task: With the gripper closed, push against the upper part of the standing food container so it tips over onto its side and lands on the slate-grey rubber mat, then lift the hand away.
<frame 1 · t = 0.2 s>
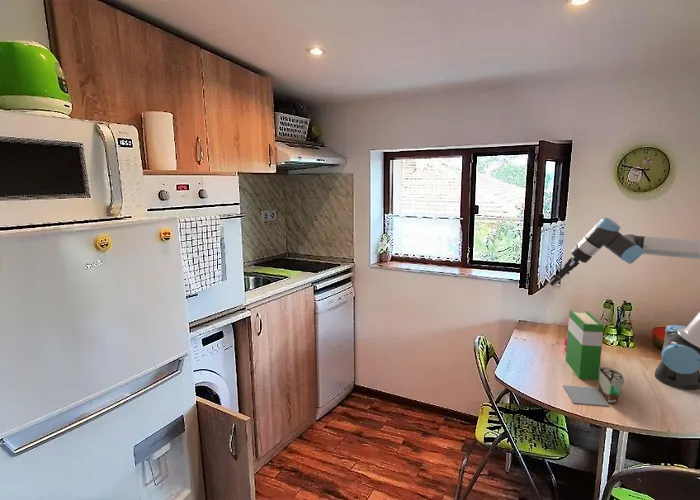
hand: (550, 286, 182), 36 cm above the table, tool tilted 35°, fingers open, 13 cm apart
pepper mill: (572, 352, 197), on the table
hardback book: (581, 370, 179), on the table
food container: (611, 398, 156), on the table
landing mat: (584, 395, 158), on the table
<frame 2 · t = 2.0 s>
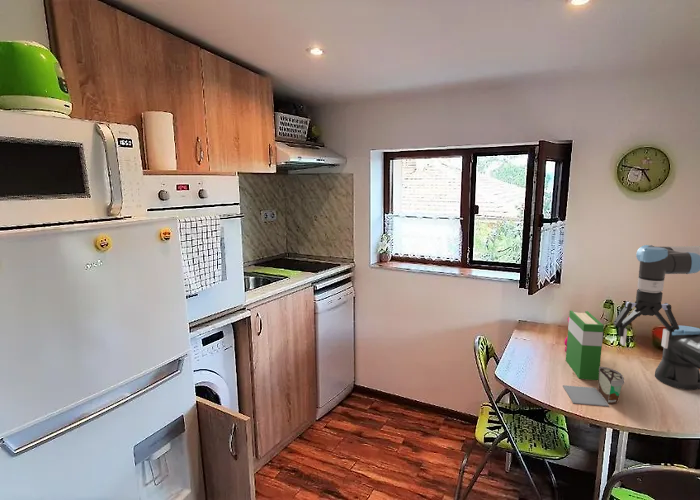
hand: (643, 345, 151), 22 cm above the table, tool pointing down, fingers open, 13 cm apart
nothing on the table moved.
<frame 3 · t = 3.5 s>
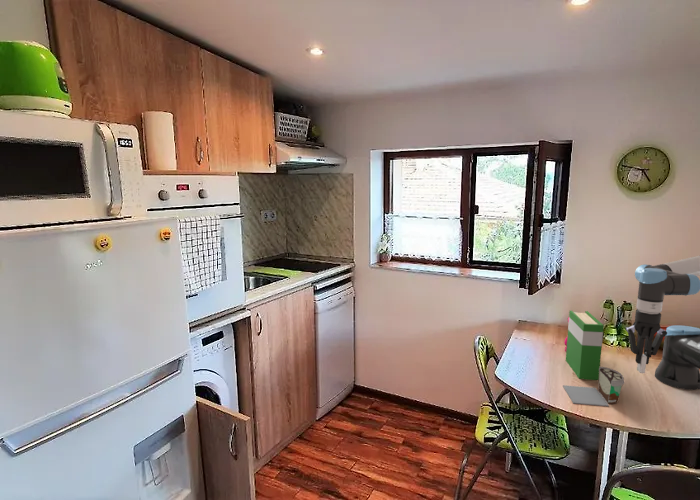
hand: (640, 371, 152), 12 cm above the table, tool pointing down, fingers closed
nothing on the table moved.
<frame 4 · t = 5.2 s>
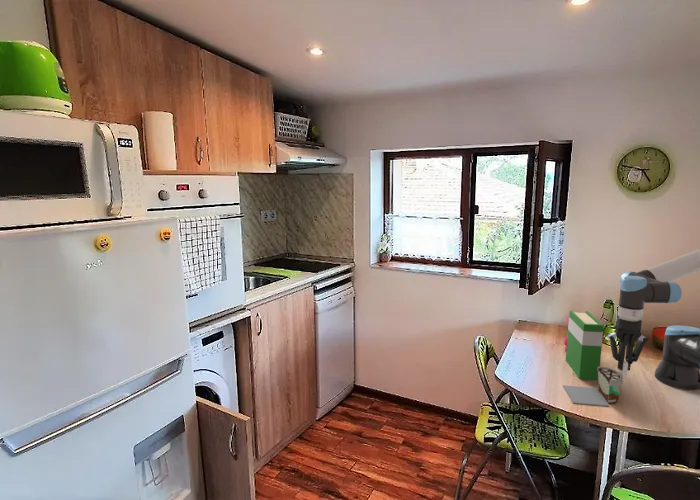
hand: (622, 377, 154), 9 cm above the table, tool pointing down, fingers closed
food container: (611, 398, 156), on the table, touching gripper
everything else where it was.
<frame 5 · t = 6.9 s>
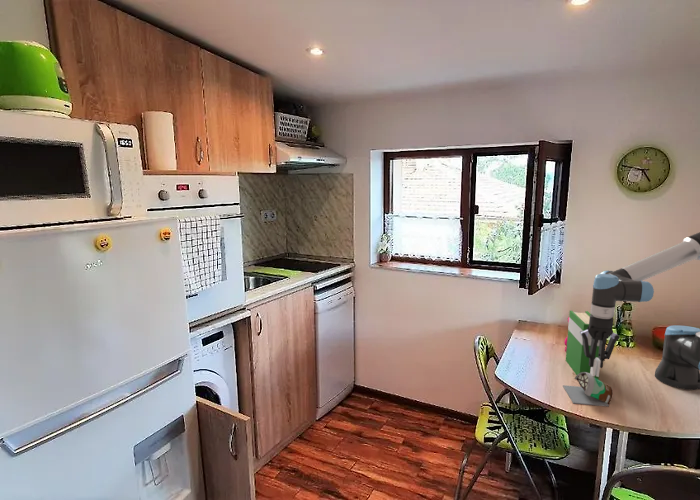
hand: (594, 374, 156), 9 cm above the table, tool pointing down, fingers closed
food container: (608, 391, 156), point 3 cm above the table, touching gripper, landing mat
everything else where it was.
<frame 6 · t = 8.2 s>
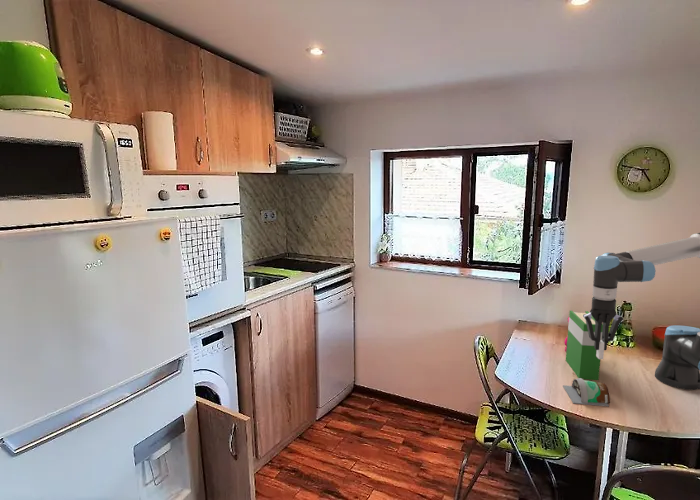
hand: (599, 357, 155), 16 cm above the table, tool pointing down, fingers closed
food container: (606, 389, 156), point 3 cm above the table, touching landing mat
everything else where it was.
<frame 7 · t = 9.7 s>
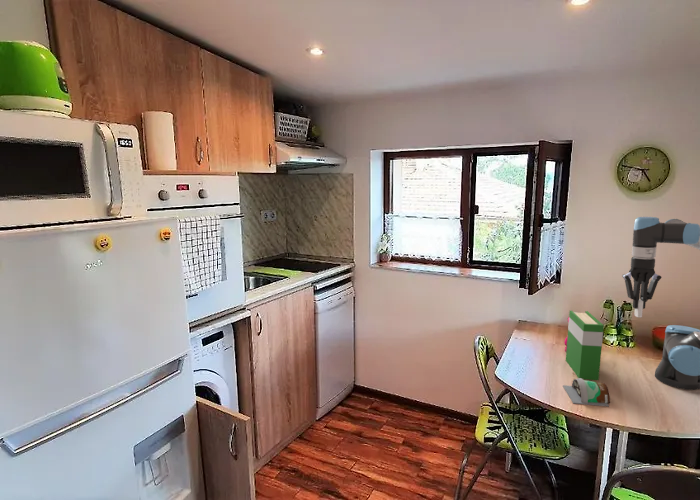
hand: (638, 316, 161), 29 cm above the table, tool pointing down, fingers closed
nothing on the table moved.
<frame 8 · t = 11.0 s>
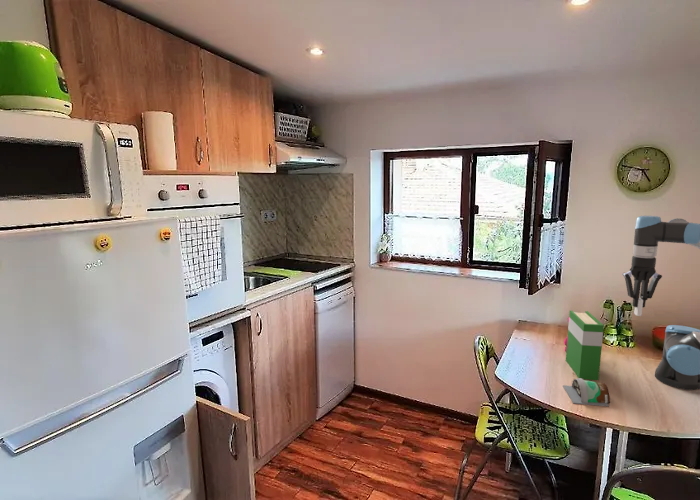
hand: (637, 314, 161), 29 cm above the table, tool pointing down, fingers closed
nothing on the table moved.
at the end: food container tilted 90°; food container inside the target area (4.7 cm from its centre), point 3.5 cm above the table; food container touching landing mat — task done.
